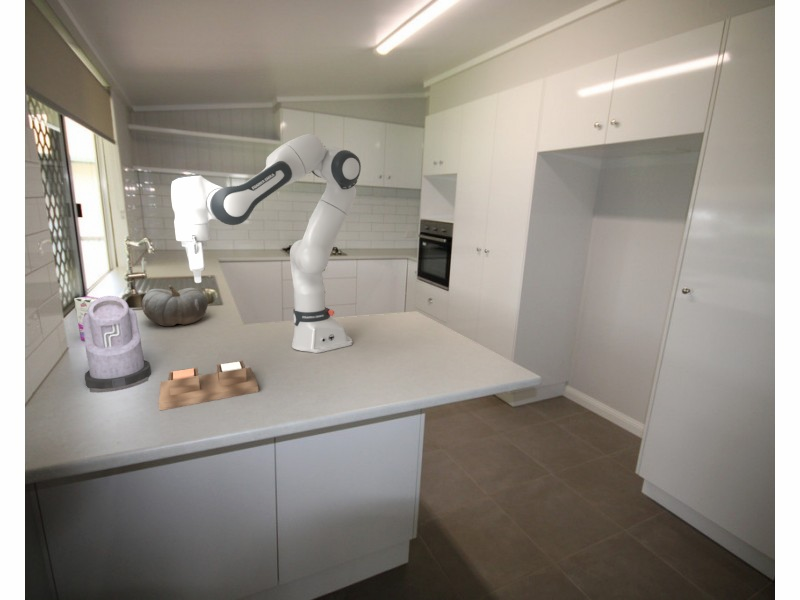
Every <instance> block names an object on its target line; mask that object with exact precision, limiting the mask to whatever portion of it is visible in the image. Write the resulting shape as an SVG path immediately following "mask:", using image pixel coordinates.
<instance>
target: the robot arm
mask: <svg viewBox="0 0 800 600" xmlns="http://www.w3.org/2000/svg"><path fill="white" fill-rule="evenodd" d="M361 169H362V165H361V161H360V158H359V157H358V156H357V155H356V154H355V153H353V152H352V151H350V150H349V149H348V150H347V149H342V148H339V147H335V146H331V147H330V146H326V145H324V143H323V142H322V140H321V139H320V138H319V137H318V136H317V135H315V134H313V133H306V134H303V135H300V136H297V137H294V138H293V139H291V140H289V141H287V142H285V143H283V144H282V145H280V146H279V147H277V148H276V149H275V150H273V151H272V152H271V153H270V154H269V155H268V156H267V157H266V160H265V168H264V169H263V170H262V171H260V172H259V173H257V174H255V175H254V176H253V177H251V178H250V179H248V180H246V181H245V182H244V183H242V184H239V185H234V186H233V185H232V186H225V187H222V186H220V185H217V184H215V183H213V182H211V181H209V180H208V179H206V178H205V177H203V176H202V175H200V174H187V175H181V176H177V177H175V178H174V179H173V180H172V181H171V187H170V198H171V206H172V208H171V209H172V210H173V213H174V220H173V225H174V232H175V241H177V242H180V243H181V247H182V248H185V252H186V253H185V254H186V256H187V260H188V267H189V271H190V272H192V273H193V279H194V281H193V282H194V283H196V284H200V283H202V281H203V280H202V272H203V271H205V267H206V266H205V265H206V264H205V255H204V247H207V241H210V240H211V230H210V229H211V228H210V220H215V221H217V222H221V223H223V224H225V225H229V226H236V225H240V224H243V223H244V222H245V221H247V220H248V218H249V217H250V216H251V214H252V213H253V211H254V209H255V207H257V205H258V204H259V203H261V201H263V200H265V199H266V198H268V197H269V196H270V195H271V194H273V193H275V192H277V190H279V189H281V188H283V187H285V186H288V185H290V184H293V183H296V182H297V181H299V180H300V179H302V178H304V177H305V176H307V175H308V174H310V173H312V174H313V175H314V176H316V177H317V178H320V179H324V180H326V186H325V191H324V192H323V194H322V195H321V197H320V199H319V200H318V202H317V205H316V207H315V208H314V210H313V212H312V214H311V216H310V217H309V220H308V224H307V227H306V229H305V231H304V235H303V237H302V239H299V240H296V241H295V242H294V243H293V244H292V245H291V247H290V249H289V258H290V259H289V261H290V269H291V277H292V278H291V280H292V287H293V303H294V304H293V305H294V307H293V315H292V316H293V318H292V319H293V324H294V330H293V339H292V341H291V348H292V349H294V350H297V351H302V352H310V353H315V354H320V353H324V352H328V351H333V350H337V349H340V348H345V347H349V346H352V345H353V339H352V338H351V337H350V336H349V335H348V334H347V331H346V329H345V327H344V325H343V324H342V323H340V322H339V321H337V320H336V319H335V318H333V316H334V315H335V310H333V309H330V308H329V307H326V295H325V294H326V289H325V287H326V286H325V283H324V277H323V271H325V270H326V268H327V266H328V264H329V259H330V256H331V254H332V251H333V249H334V246H335V242H336V239H337V237H338V235H339V234H340V231H341V230H342V229H341V228H342V227H343V225H344V223H345V221H346V220H347V218H348V216H349V213H350V212H351V210H352V207H353V204H354V202H355V199H356V196H357V189H356V187H355V185H356V184H357V183H358V180H359V176H360V175H361V174H360V173H361Z"/></svg>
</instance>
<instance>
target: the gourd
mask: <svg viewBox="0 0 800 600" xmlns="http://www.w3.org/2000/svg"><path fill="white" fill-rule="evenodd" d="M168 288H169V289H170V290H168V289H163V288H152V289H149V290H148V291H147V292H146V293H145V294H144V296H143V298H142V300H141V306H142V311H143V314H144V316H145V317H146V318H147V319H148V320H150V321H152V322H154V323H156V324H158V325H160V326H164V327H168V326H172V327H173V326H176V325H177V324H179V325H184V326H185V325H190V324H193V323H196V322H198V321H200V320H201V319H202V318H203V316H204V315H205V313H206V311H207V310H208V306H209V299H208V298H207V296H206V295H205V294H204V293H203V292H202V291H201V290H199V289H198V288H194V287H186V288H185V287H184V288H183V289H179V290H176V289H175V288H174V287H173V285H172V284H170V285H168Z"/></svg>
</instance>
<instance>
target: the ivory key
mask: <svg viewBox="0 0 800 600" xmlns="http://www.w3.org/2000/svg"><path fill="white" fill-rule="evenodd" d="M232 362H233V363H229V362H226V363H227V364H222V363H220V364H221V372H225V371H231V370H237V369H242V368H241V365H240V362H235V361H232Z"/></svg>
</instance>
